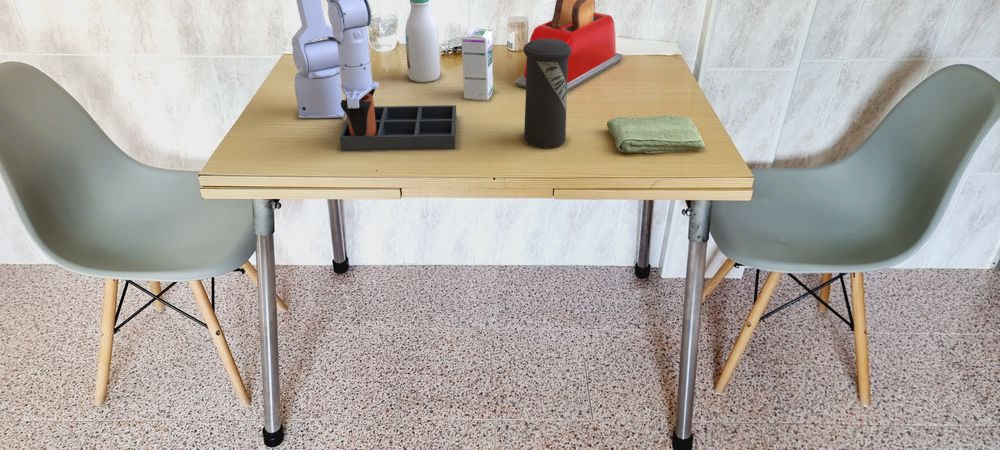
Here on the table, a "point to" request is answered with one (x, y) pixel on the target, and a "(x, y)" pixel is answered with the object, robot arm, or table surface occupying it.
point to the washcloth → (655, 134)
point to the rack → (406, 129)
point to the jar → (370, 118)
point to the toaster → (580, 40)
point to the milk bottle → (422, 43)
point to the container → (546, 92)
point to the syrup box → (477, 64)
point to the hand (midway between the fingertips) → (362, 128)
